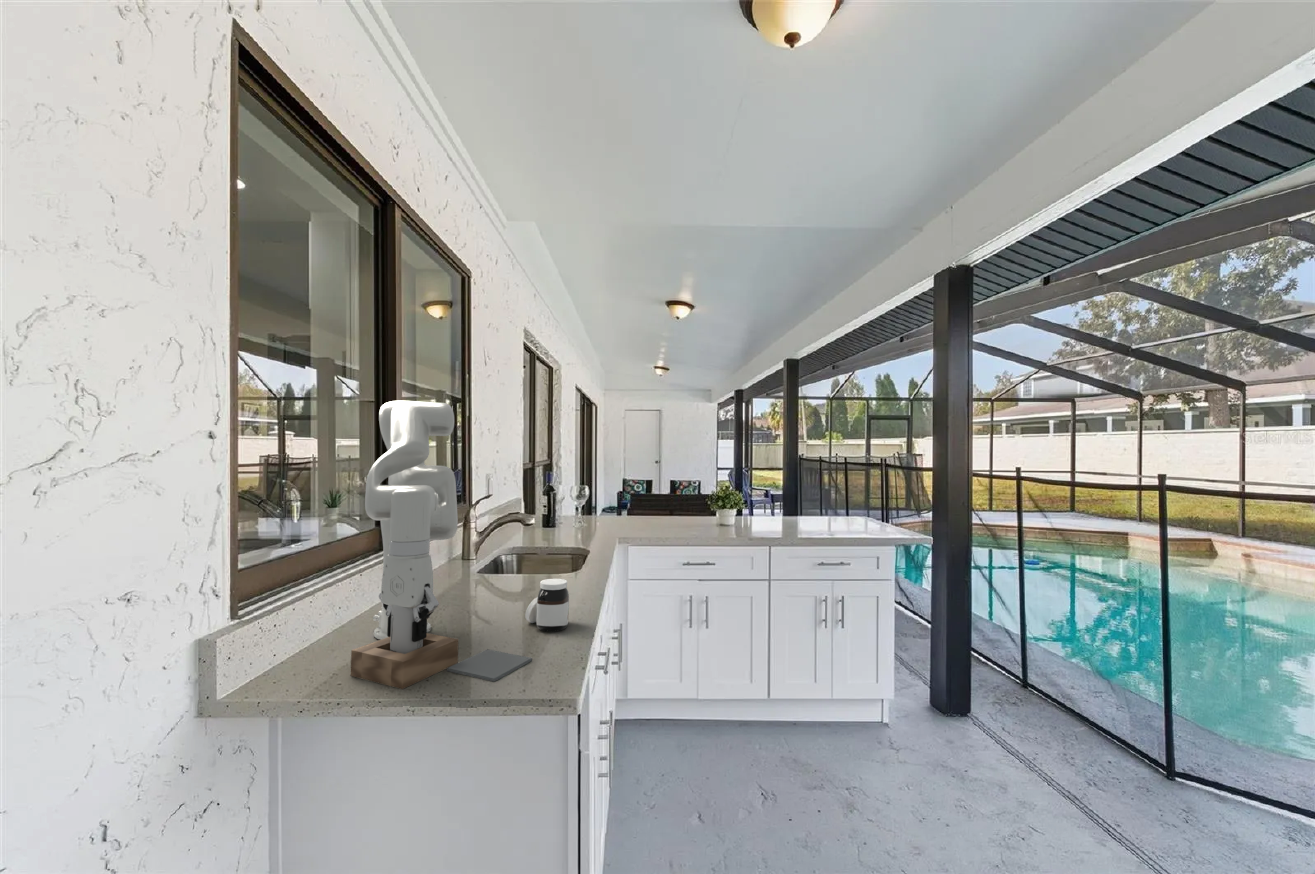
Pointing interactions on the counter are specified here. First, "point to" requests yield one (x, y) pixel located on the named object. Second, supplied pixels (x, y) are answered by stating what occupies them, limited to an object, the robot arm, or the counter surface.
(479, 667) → the rubber mat
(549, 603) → the spread jar
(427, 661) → the walnut frame
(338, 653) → the counter surface
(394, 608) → the energy drink can
